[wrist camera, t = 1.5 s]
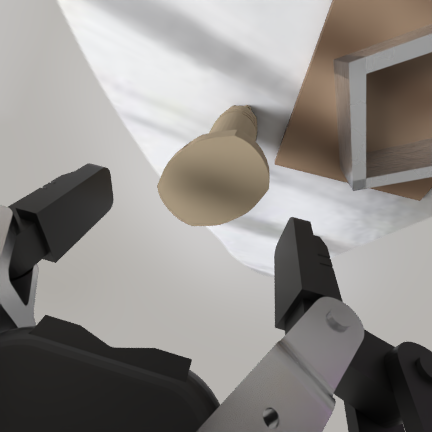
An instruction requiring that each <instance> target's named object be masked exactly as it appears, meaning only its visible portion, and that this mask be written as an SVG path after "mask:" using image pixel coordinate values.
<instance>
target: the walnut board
mask: <svg viewBox="0 0 432 432" xmlns="http://www.w3.org/2000/svg"><path fill="white" fill-rule="evenodd" d="M429 24H432V0H333V1H332V3H331V6H330V9H329V12H328V14H327V17H326V20H325V23H324V26H323V28H322V31H321V34H320V37H319V39H318V42H317V45H316V48H315V51H314V53H313V56H312V59H311V62H310V64H309V67H308V70H307V73H306V76H305V78H304V81H303V84H302V87H301V89H300V92H299V95H298V98H297V101H296V103H295V106H294V109H293V112H292V114H291V117H290V120H289V123H288V126H287V128H286V131H285V134H284V137H283V139H282V142H281V145H280V148H279V151H278V153H277V156H276V159H275V165H279V166H283V167H287V168H291V169H295V170H299V171H303V172H307V173H311V174H315V175H319V176H323V177H327V178H331V179H335V180H339V181H343V182H347V183H348V181H347V179H346V177H345V176H344V174H343V172H342V170H341V168H340V159H339V143H338V127H337V111H336V95H335V79H334V63H333V60H334V59H337V58H340V57H342V56H345V55H348V54H351V53H353V52H356V51H359V50H361V49H364V48H367V47H370V46H372V45H375V44H378V43H380V42H383V41H386V40H389V39H391V38H394V37H397V36H400V35H402V34H405V33H408V32H410V31H413V30H416V29H419V28H421V27H424V26H427V25H429ZM430 138H432V52H431V53H428V54H425V55H422V56H419V57H416V58H413V59H410V60H407V61H404V62H401V63H397V64H394V65H391V66H388V67H385V68H382V69H379V70H376V71H373V72H370V73H367V74H366V153H368V152H372V151H377V150H381V149H385V148H390V147H394V146H399V145H403V144H408V143H412V142H416V141H421V140H425V139H430ZM431 188H432V177H429V178H423V179H417V180H412V181H406V182H400V183H395V184H389V185H383V186H378V187H372V188H371V189H375V190H379V191H383V192H387V193H391V194H395V195H399V196H403V197H407V198H411V199H415V200H419V201H420V200H421V199H422V198H423V197H424V196H425V195H426V194H427V192H428V191H429V190H430V189H431Z"/></svg>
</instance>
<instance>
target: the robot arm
mask: <svg viewBox="0 0 432 432" xmlns="http://www.w3.org/2000/svg"><path fill="white" fill-rule="evenodd" d="M112 204H113V191H112V183H111V175H110V171H109V169H108V168H105V167H101V166H98V165H94V164H86V165H85V166H83V167H81V168H80V169H78V170H76V171H74V172H71V173H68V174H65V175H61V176H60V177H58V178H56V179H55V180H53V181H51V183H48V184H46V185H44V186H43V188H39V189H37V190H36V191H34V192H32V193H31V194H29V195H27V196H26V197H24V198H22V199H21V200H19V201H17V202H15V203H14V204H12V205H10V206H8V207H6V206H2V205H0V432H322V431H323V429H324V427H325V426H326V423H327V422H328V420H329V418H330V416H331V414H332V412H333V410H334V406H335V399H334V398H333V397H332V396H333V394H335V395H336V396H338V397H339V398H341V399H342V400H344V405H345V411H346V418H347V424H348V431H349V432H405V431H406V432H432V352H431V351H430V350H428V349H426V348H425V347H423V346H421V345H419V344H416V343H413V342H403V343H401V344H400V345H398V346H397V347H394V346H392V345H390V344H388V343H387V342H385V341H383V340H381V339H380V338H378V337H376V336H374V335H373V334H371V333H369V332H368V331H366V330H364V328H363V325H362V323H361V320H360V319H359V317H358V316H357V315H356V313H355V312H354V311H353V310H352V309H351V308H350V307H349V306H348V305H346V304H345V303H343V302H342V298H341V295H340V291H339V288H338V284H337V280H336V277H335V274H334V270H333V268H332V263H331V259H330V255H329V252H328V248H327V246H326V245H325V243H324V242H323V241H322V239H321V238H320V237H319V236H315V235H313V231H312V227H311V223H310V222H309V221H305V220H302V219H298V218H294V217H291V218H290V219H289V221H288V223H287V225H286V227H285V229H284V231H283V233H282V235H281V237H280V239H279V241H278V243H277V246H276V250H275V256H274V262H275V327H276V328H278V329H282V330H285V336H284V337H283V338H282V339H281V341H279V342H278V343H277V344H276V345H275V346H274V347H273V348H272V349H271V350H270V351H269V352H268V353H267V355H266V356H265V357H264V358H263V359H262V360H261V361H260V363H258V364H257V366H256V367H255V368H254V369H253V370H252V371H251V372H250V373H249V374H248V375H247V376H246V378H245V379H244V380H243V381H242V382H241V383H240V384H239V385H238V387H236V389H235V390H234V391H233V392H232V393H231V394H230V395H229V396H228V397H227V398H226V400H225V401H224V402H223V403H222V404H221V405H220V404H219V402H218V400H217V398H216V397H215V395H214V394H213V392H212V390H211V389H210V388H209V387H208V386H207V384H206V383H205V382H204V381H203V380H202V379H201V378H200V377H199V376H197V375H196V374H195V373H193V372H192V371H191V370H189V368H190V365H191V361H192V360H191V359H189V358H185V357H182V356H178V355H175V354H172V353H169V352H166V351H162V350H159V349H156V348H113V347H110V346H108V345H107V344H106V343H104V342H103V341H101V340H100V339H99V338H97V337H96V336H94V335H93V334H92V333H90V332H88V331H87V330H86V329H85V328H83V327H82V326H80V325H77V324H74V323H71V322H67V321H64V320H60V319H57V318H54V317H51V316H48V315H45V316H44V317H43V319H42V320H41V321H40V322H39V323H38V325H36V323H35V319H34V303H35V294H36V287H37V278H38V270H39V268H38V265H37V263H38V262H39V261H40V260H41V259H45V260H48V261H51V262H55V263H56V262H57V261H58V260H59V259H60V258H61V257H62V256H63V255H64V254H65V253H66V252H67V251H68V250H69V249H70V248H71V247H72V246H73V245H74V244H75V243H76V242H78V241H79V240H80V239H81V238H82V237H83V236H84V235H85V234H86V233H87V232H88V231H89V230H90V229H91V228H92V227H93V226H94V225H95V224H96V223H97V222H98V221H99V220H100V219H101V218H102V217H103V216H104V215H105V214H106V213H107V212H108V211H109V210H110V209H111V207H112ZM403 425H404V427H403ZM404 428H405V430H404Z"/></svg>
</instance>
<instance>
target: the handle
mask: <svg viewBox="0 0 432 432" xmlns="http://www.w3.org/2000/svg"><path fill="white" fill-rule="evenodd" d="M256 137H257V119H256V116H255V115H254V114H253V112H252V111H251V107H250V106H248V105H246V106H236V105H234V106H232V107H230V108H229V109H228V110H226V111H225V112H224V113H223V114H222V115H221V116H220V117H219V118H218V119H217V120H216V122H215V123H214V125H213V127H212V129H211V130H210V132H209V133H208V134H204V135H201V136H199V137H197V138H196V139H194V140H193V141H191V142H190V143H188V144H187V145H186V146H184V147H183V148H182V149H181V150H179V151H178V152H177V153H176V154H175V155H174V156H173V157H172V159H171V160H170V161H169V162H168V164H167V166H166V167H165V169H164V171H163V173H162V176H161V178H160V181H159V183H158V185H157V188H158V192H159V195H160V198H161V199H162V201H163V203H164V204H165V206H166V207H167V208H168V209H169V211H171V212H172V214H173V215H174V216H176V217H177V218H178V219H179V220H181V221H183V222H185V223H186V224H189V225H191V226H213V225H220V224H223V223H226V222H229V221H231V220H233V219H236V218H238V217H240V216H242V215H244V214H246V213H247V212H249V211H250V210H251V209H252V208H253V207H254V206H255V205H256V204H257V203H258V202H259V200H260V199H261V198H262V197H263V196H264V194H265V193H266V192H267V191H268V190H269V166H268V162H267V159H266V157H265V155H264V153H263V151H262V149H261V148H260V147H259V145H258V144H257V143H256Z"/></svg>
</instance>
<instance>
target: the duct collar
mask: <svg viewBox="0 0 432 432" xmlns="http://www.w3.org/2000/svg"><path fill="white" fill-rule="evenodd" d="M431 52H432V24H429V25H427V26H424V27H421V28H419V29H416V30H413V31H410V32H408V33H405V34H402V35H400V36H397V37H394V38H391V39H389V40H386V41H383V42H380V43H378V44H375V45H372V46H370V47H367V48H364V49H361V50H359V51H356V52H353V53H351V54H348V55H345V56H342V57H340V58H337V59H334V60H333V63H334V79H335V95H336V111H337V127H338V143H339V159H340V168H341V170H342V172H343V174H344V176H345V177H346V179H347V181H348V183H349V185H350V186H351V188H352V190H353V191H355V190H361V189H367V188H372V187H378V186H383V185H389V184H395V183H400V182H406V181H412V180H417V179H423V178H429V177H432V138H430V139H425V140H421V141H416V142H412V143H408V144H403V145H399V146H394V147H390V148H385V149H381V150H377V151H372V152H368V153H366V74H367V73H370V72H373V71H376V70H379V69H382V68H385V67H388V66H391V65H394V64H397V63H401V62H404V61H407V60H410V59H413V58H416V57H419V56H422V55H425V54H428V53H431Z"/></svg>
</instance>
